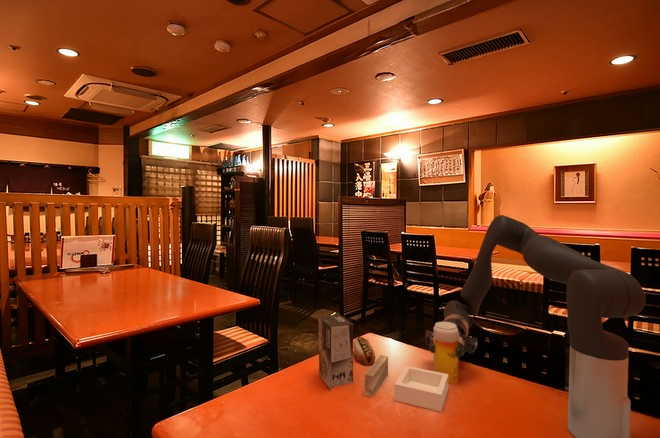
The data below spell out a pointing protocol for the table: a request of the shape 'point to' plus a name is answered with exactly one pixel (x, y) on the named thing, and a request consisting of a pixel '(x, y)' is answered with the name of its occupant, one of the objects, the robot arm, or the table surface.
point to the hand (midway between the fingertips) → (445, 351)
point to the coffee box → (335, 350)
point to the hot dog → (364, 351)
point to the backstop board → (376, 375)
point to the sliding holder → (422, 388)
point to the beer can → (446, 350)
